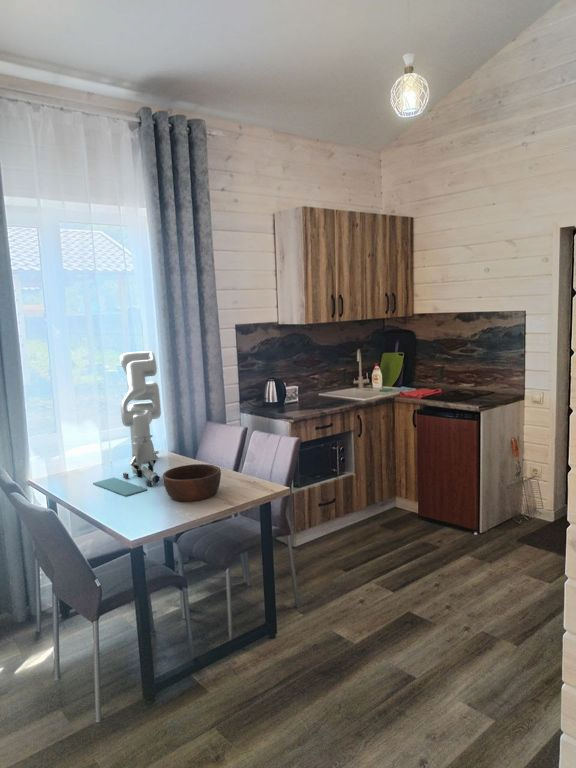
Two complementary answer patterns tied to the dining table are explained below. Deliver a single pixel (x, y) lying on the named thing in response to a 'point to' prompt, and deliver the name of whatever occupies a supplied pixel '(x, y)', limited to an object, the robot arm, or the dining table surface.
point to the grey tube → (148, 474)
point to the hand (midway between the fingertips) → (145, 475)
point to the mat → (120, 486)
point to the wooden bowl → (192, 482)
